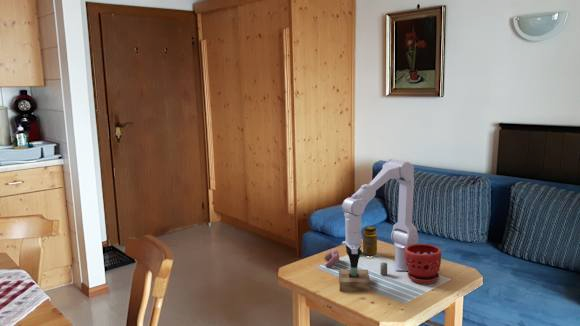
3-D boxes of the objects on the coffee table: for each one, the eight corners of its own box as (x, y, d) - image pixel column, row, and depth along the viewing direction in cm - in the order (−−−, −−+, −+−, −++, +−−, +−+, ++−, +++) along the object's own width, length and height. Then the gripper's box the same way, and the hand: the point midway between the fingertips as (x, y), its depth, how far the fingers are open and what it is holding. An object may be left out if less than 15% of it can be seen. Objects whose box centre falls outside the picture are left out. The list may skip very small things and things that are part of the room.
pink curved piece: (334, 271, 196) (342, 256, 195) (324, 267, 196) (332, 252, 195) (333, 262, 206) (340, 248, 205) (323, 258, 206) (330, 244, 205)
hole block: (367, 278, 185) (367, 269, 184) (370, 290, 174) (370, 281, 173) (338, 278, 186) (338, 269, 185) (339, 291, 175) (339, 281, 174)
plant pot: (447, 277, 183) (447, 247, 180) (429, 289, 174) (429, 257, 171) (416, 269, 192) (416, 240, 190) (398, 279, 183) (398, 249, 181)
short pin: (386, 273, 189) (386, 262, 188) (387, 276, 186) (387, 264, 186) (380, 273, 189) (380, 262, 188) (380, 276, 186) (380, 265, 186)
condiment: (381, 253, 210) (381, 227, 208) (369, 259, 204) (369, 231, 202) (367, 249, 215) (366, 223, 213) (355, 255, 209) (355, 228, 207)
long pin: (357, 273, 180) (357, 252, 179) (357, 276, 178) (357, 255, 176) (350, 273, 180) (350, 252, 179) (350, 276, 178) (350, 255, 176)
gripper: (341, 224, 184) (342, 258, 186) (343, 237, 169) (343, 273, 172) (360, 224, 183) (360, 258, 185) (363, 236, 169) (363, 273, 171)
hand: (353, 265), depth 178 cm, fingers closed on long pin, 2 cm apart
